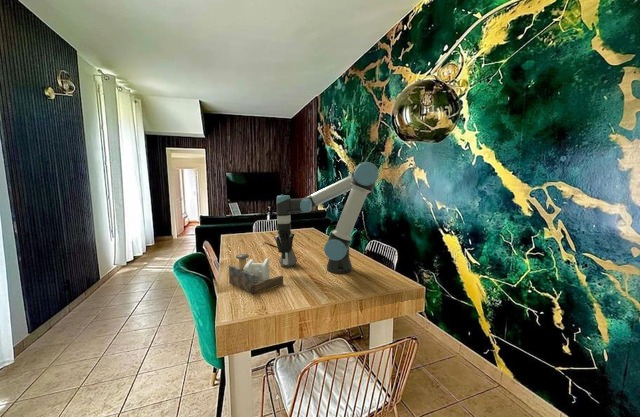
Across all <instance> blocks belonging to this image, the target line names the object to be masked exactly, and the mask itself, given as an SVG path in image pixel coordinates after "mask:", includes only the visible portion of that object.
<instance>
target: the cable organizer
mask: <svg viewBox="0 0 640 417" xmlns="http://www.w3.org/2000/svg"><path fill="white" fill-rule="evenodd" d="M243 271H247V272H249V273H252V274H254V275H255V282H258V283H259V282H262V281H265V280H269V279H270V259H269V257H268V258H265V259H264V260H263V262H255V259H254V258H249V260H248V261H246V265H245V266H244V268H243Z"/></svg>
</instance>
